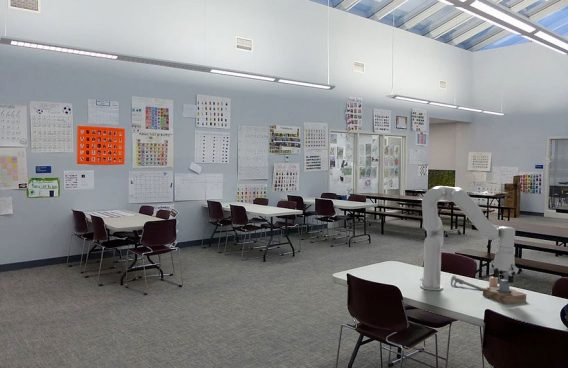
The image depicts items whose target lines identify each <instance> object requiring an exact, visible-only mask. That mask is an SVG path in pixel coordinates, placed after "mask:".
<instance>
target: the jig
mask: <svg viewBox="0 0 568 368" xmlns="http://www.w3.org/2000/svg"><path fill="white" fill-rule="evenodd" d="M482 288H483V291H482V296H484V297H487V298H489V299H492V300H494V301H497V302H500V303H503V304H504V305H511V304H512V305H513V304H517V303H524V302H527V294H526V293H524V292H521V291H518V290H516V289H512V288H509V293H502V292H499V285H498V286H497V287H489V286H487V287H482Z"/></svg>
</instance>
